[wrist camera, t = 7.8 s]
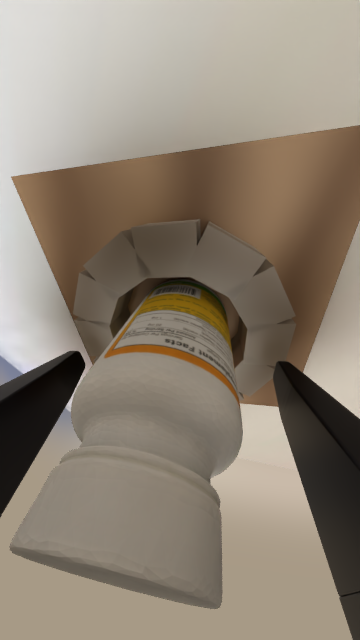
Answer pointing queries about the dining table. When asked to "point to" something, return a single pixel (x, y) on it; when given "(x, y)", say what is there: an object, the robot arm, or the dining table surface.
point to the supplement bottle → (147, 455)
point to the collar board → (228, 191)
